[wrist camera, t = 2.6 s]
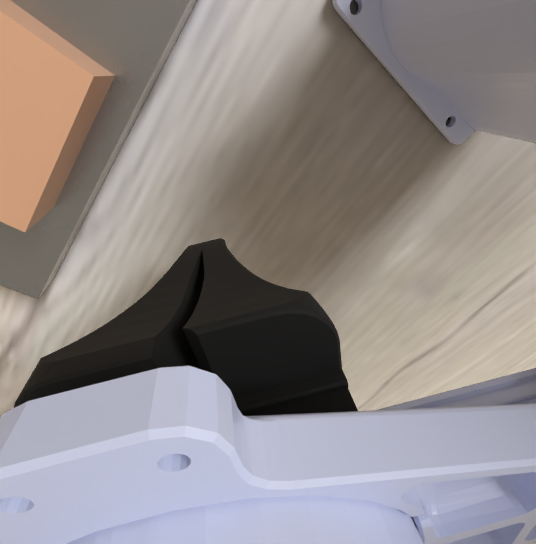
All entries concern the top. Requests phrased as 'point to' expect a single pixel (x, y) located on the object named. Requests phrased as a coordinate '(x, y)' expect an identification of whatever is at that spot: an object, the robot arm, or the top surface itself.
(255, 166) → the top surface
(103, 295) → the top surface
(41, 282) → the grey flat board
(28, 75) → the tile
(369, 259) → the top surface
